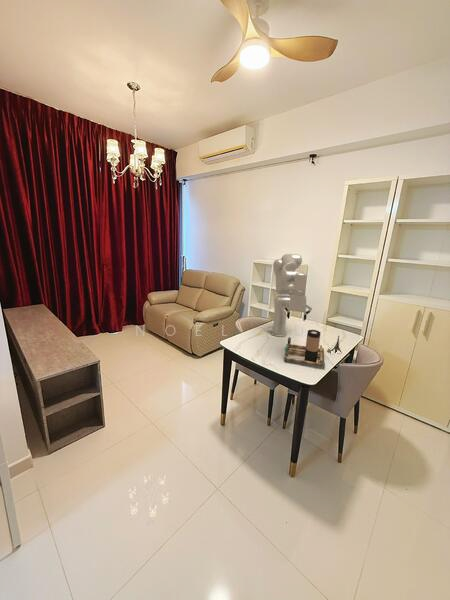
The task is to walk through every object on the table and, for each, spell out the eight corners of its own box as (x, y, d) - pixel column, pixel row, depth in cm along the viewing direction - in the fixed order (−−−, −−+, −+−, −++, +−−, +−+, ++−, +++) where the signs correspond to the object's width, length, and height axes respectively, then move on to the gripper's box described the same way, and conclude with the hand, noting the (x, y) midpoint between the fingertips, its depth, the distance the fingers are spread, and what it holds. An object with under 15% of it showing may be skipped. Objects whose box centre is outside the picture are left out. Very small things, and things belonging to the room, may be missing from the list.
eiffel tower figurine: (330, 346, 178) (333, 329, 175) (345, 350, 173) (348, 332, 169) (325, 353, 167) (327, 335, 163) (341, 358, 161) (344, 339, 158)
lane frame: (283, 362, 152) (284, 358, 151) (288, 345, 176) (288, 342, 175) (324, 369, 144) (324, 366, 144) (323, 351, 168) (323, 348, 167)
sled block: (286, 351, 166) (287, 340, 164) (287, 346, 174) (288, 336, 173) (321, 358, 159) (322, 346, 157) (321, 352, 167) (322, 341, 165)
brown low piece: (283, 361, 153) (284, 349, 152) (286, 353, 164) (287, 342, 162) (321, 368, 146) (323, 355, 144) (321, 359, 157) (322, 347, 155)
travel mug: (302, 358, 157) (305, 329, 152) (313, 358, 158) (317, 329, 153) (307, 364, 150) (310, 334, 145) (318, 364, 150) (323, 334, 146)
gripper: (283, 292, 151) (281, 318, 155) (313, 295, 144) (310, 323, 148) (285, 290, 157) (283, 315, 161) (314, 293, 151) (311, 319, 155)
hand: (296, 319), depth 155 cm, fingers open, 9 cm apart
